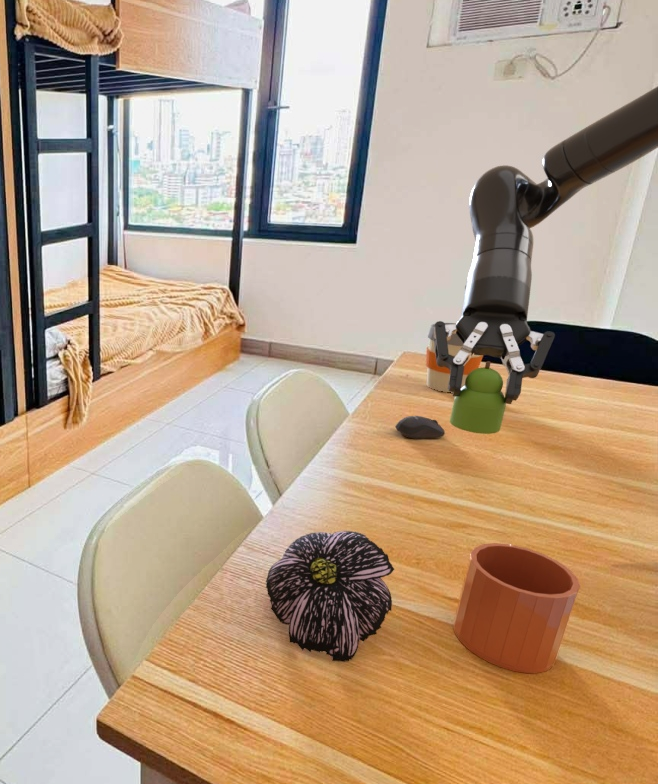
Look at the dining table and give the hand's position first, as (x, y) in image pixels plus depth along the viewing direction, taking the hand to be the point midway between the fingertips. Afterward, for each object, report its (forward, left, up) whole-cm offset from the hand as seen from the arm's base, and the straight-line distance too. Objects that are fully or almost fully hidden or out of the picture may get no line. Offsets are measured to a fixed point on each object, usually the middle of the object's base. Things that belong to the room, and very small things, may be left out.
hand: (482, 397), depth 81 cm
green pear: (+1, -2, -5) cm, 5 cm away
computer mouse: (+18, -42, -24) cm, 52 cm away
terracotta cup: (-11, +14, -24) cm, 30 cm away
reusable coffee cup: (+24, -78, -24) cm, 85 cm away
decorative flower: (+5, +26, -24) cm, 36 cm away
